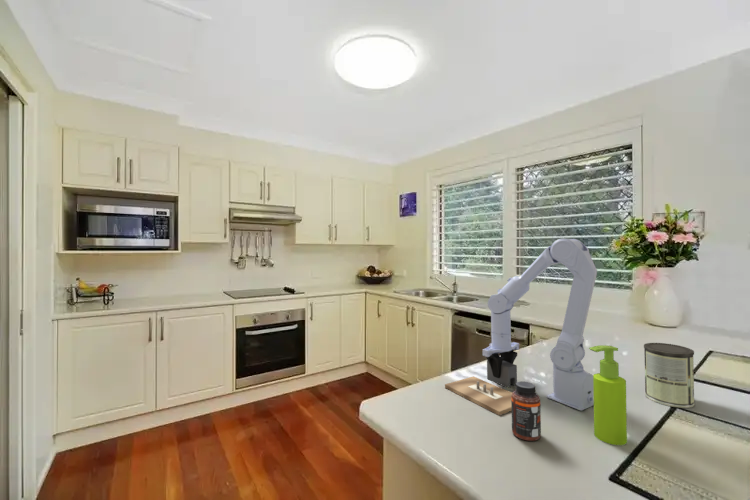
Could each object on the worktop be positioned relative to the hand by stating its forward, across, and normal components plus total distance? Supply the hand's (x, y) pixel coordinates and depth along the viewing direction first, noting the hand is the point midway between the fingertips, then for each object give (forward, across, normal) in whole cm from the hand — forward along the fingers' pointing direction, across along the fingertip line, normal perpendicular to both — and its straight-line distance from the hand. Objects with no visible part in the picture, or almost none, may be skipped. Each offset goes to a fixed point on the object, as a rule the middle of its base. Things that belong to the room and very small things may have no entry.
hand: (501, 375), depth 105 cm
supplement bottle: (+2, +20, +23) cm, 31 cm away
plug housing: (+2, 0, 0) cm, 2 cm away
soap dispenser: (+2, +6, +33) cm, 34 cm away
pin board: (+2, +12, +4) cm, 13 cm away
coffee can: (+2, -28, +32) cm, 43 cm away
